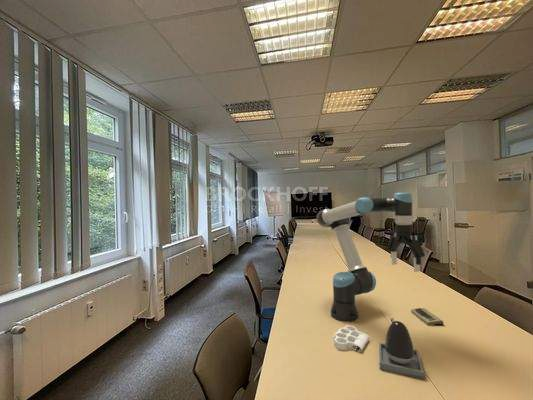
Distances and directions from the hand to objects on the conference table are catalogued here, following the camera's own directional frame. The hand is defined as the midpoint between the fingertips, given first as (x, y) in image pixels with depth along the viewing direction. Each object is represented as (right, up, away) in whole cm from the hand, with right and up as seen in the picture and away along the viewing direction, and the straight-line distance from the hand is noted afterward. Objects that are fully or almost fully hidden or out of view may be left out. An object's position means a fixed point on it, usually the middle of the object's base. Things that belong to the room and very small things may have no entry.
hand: (405, 267), depth 120 cm
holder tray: (-15, -32, -22) cm, 41 cm away
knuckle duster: (-29, -33, -6) cm, 44 cm away
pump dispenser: (-15, -31, -22) cm, 41 cm away
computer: (+20, -32, +14) cm, 40 cm away
